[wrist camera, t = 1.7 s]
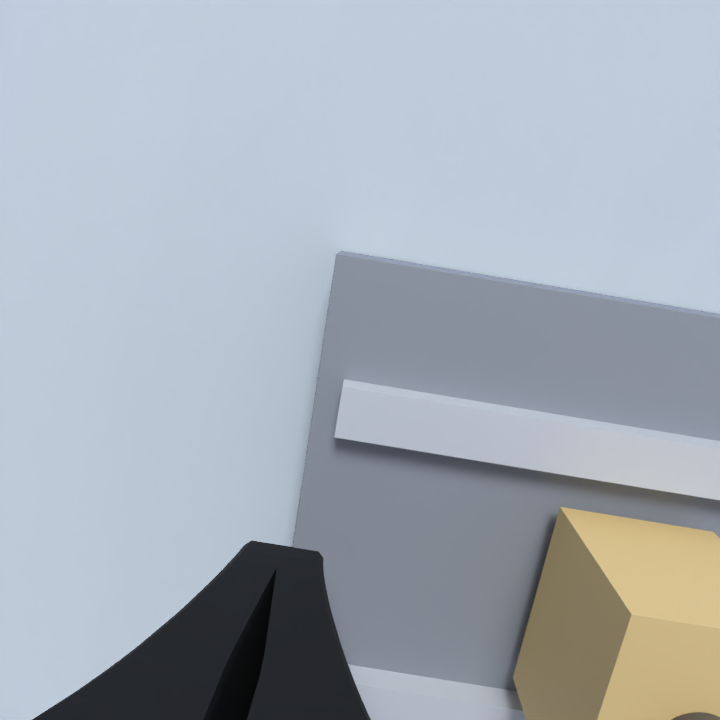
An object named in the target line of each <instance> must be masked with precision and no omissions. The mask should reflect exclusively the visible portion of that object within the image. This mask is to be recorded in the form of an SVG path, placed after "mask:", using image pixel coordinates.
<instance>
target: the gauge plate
mask: <svg viewBox="0 0 720 720" xmlns="http://www.w3.org/2000/svg"><path fill="white" fill-rule="evenodd" d="M560 507H564V508H571V509H577V510H583V511H589V512H595V513H601V514H607V515H613V516H620V517H626V518H632V519H638V520H644V521H650V522H656V523H663V524H669V525H675V526H681V527H687V528H693V529H699V530H706V531H712V532H714V533H715V534H716V535H717V536H718V537H719V538H720V314H715V313H709V312H703V311H697V310H691V309H685V308H679V307H673V306H667V305H661V304H655V303H649V302H643V301H637V300H631V299H625V298H619V297H613V296H607V295H601V294H595V293H589V292H583V291H577V290H572V289H566V288H560V287H554V286H548V285H542V284H536V283H530V282H524V281H518V280H512V279H506V278H500V277H494V276H488V275H482V274H476V273H470V272H464V271H458V270H452V269H446V268H440V267H434V266H428V265H422V264H416V263H410V262H404V261H398V260H392V259H386V258H380V257H374V256H368V255H362V254H356V253H350V252H344V251H341V252H339V253H337V254H336V260H335V267H334V273H333V280H332V287H331V293H330V300H329V307H328V313H327V320H326V327H325V333H324V340H323V347H322V353H321V360H320V367H319V373H318V380H317V387H316V393H315V400H314V407H313V413H312V420H311V427H310V433H309V440H308V447H307V453H306V460H305V467H304V473H303V480H302V487H301V493H300V500H299V507H298V514H297V520H296V527H295V534H294V540H293V547H294V548H300V549H307V550H313V551H319V553H320V554H321V555H322V557H323V558H324V559H323V569H324V579H325V585H326V590H327V595H328V600H329V604H330V608H331V612H332V616H333V619H334V623H335V626H336V629H337V633H338V636H339V640H340V643H341V646H342V649H343V652H344V655H345V658H346V660H347V663H348V666H349V668H350V671H351V674H352V676H353V679H354V682H355V684H356V687H357V689H358V692H359V694H360V696H361V699H362V701H363V703H364V706H365V708H366V710H367V713H368V715H369V717H370V719H371V720H526V719H525V715H524V712H523V709H522V706H521V702H520V699H519V696H518V693H517V689H516V686H515V683H514V680H513V675H514V671H515V668H516V664H517V661H518V657H519V653H520V650H521V646H522V642H523V639H524V635H525V632H526V628H527V624H528V621H529V617H530V614H531V610H532V606H533V603H534V599H535V596H536V592H537V588H538V585H539V581H540V577H541V574H542V570H543V567H544V563H545V559H546V556H547V552H548V549H549V545H550V541H551V538H552V534H553V531H554V527H555V523H556V520H557V516H558V512H559V509H560Z"/></svg>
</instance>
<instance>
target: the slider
mask: <svg viewBox="0 0 720 720" xmlns="http://www.w3.org/2000/svg"><path fill="white" fill-rule="evenodd" d="M513 680H514V683H515V686H516V689H517V693H518V696H519V699H520V702H521V706H522V709H523V712H524V715H525V719H526V720H720V538H719V537H718V536H717V535H716V534H715V533H714V532H712V531H706V530H699V529H693V528H687V527H681V526H675V525H669V524H663V523H656V522H650V521H644V520H638V519H632V518H626V517H620V516H613V515H607V514H601V513H595V512H589V511H583V510H577V509H571V508H564V507H560V509H559V512H558V516H557V520H556V523H555V527H554V531H553V534H552V538H551V541H550V545H549V549H548V552H547V556H546V559H545V563H544V567H543V570H542V574H541V577H540V581H539V585H538V588H537V592H536V596H535V599H534V603H533V606H532V610H531V614H530V617H529V621H528V624H527V628H526V632H525V635H524V639H523V642H522V646H521V650H520V653H519V657H518V661H517V664H516V668H515V671H514V675H513Z"/></svg>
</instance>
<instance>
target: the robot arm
mask: <svg viewBox="0 0 720 720" xmlns="http://www.w3.org/2000/svg"><path fill="white" fill-rule="evenodd" d="M323 559H324V558H323V557H322V555H321V554H320V553H319V551H313V550H307V549H300V548H294V547H288V546H282V545H275V544H269V543H263V542H257V541H250V542H249V543H247V544H246V545H244V546H243V548H242V549H241V550H240V551H239V552H238V553H237V555H236V556H235V557H234V558H233V559H232V560H231V561H230V562H229V563H228V564H227V566H226V567H225V568H224V569H223V570H222V571H221V572H220V573H219V574H218V575H217V576H216V577H215V578H214V579H213V580H212V581H211V582H210V583H209V584H208V585H207V586H206V587H205V588H204V589H203V590H202V591H201V592H199V593H198V594H197V595H196V596H195V597H194V598H193V599H192V600H191V601H190V602H189V603H188V604H187V605H186V606H185V607H184V608H183V609H181V610H180V611H179V612H178V613H177V614H176V615H175V616H174V617H172V618H171V619H170V620H169V621H168V622H166V623H165V624H164V625H163V626H162V627H160V628H159V629H158V630H157V631H156V632H154V633H153V634H152V635H151V636H150V637H148V638H147V639H146V640H145V641H144V642H143V643H141V644H140V645H139V646H138V647H136V648H135V649H134V650H133V651H131V652H130V653H129V654H127V655H126V656H125V657H123V658H122V659H121V660H120V661H118V662H117V663H115V664H114V665H113V666H111V667H110V668H109V669H107V670H106V671H105V672H103V673H102V674H100V675H99V676H98V677H96V678H95V679H93V680H92V681H90V682H89V683H88V684H86V685H85V686H83V687H82V688H80V689H79V690H78V691H76V692H75V693H73V694H71V695H70V696H68V697H67V698H65V699H64V700H62V701H61V702H59V703H58V704H56V705H54V706H53V707H51V708H50V709H48V710H47V711H45V712H44V713H42V714H40V715H39V716H37V717H36V718H34V719H33V720H371V719H370V717H369V715H368V713H367V710H366V708H365V706H364V703H363V701H362V699H361V696H360V694H359V692H358V689H357V687H356V684H355V682H354V679H353V676H352V674H351V671H350V668H349V666H348V663H347V660H346V658H345V655H344V652H343V649H342V646H341V643H340V640H339V636H338V633H337V629H336V626H335V623H334V619H333V616H332V612H331V608H330V604H329V600H328V595H327V590H326V585H325V579H324V569H323Z"/></svg>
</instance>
